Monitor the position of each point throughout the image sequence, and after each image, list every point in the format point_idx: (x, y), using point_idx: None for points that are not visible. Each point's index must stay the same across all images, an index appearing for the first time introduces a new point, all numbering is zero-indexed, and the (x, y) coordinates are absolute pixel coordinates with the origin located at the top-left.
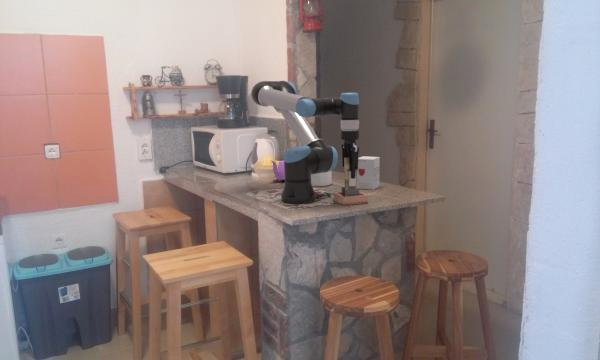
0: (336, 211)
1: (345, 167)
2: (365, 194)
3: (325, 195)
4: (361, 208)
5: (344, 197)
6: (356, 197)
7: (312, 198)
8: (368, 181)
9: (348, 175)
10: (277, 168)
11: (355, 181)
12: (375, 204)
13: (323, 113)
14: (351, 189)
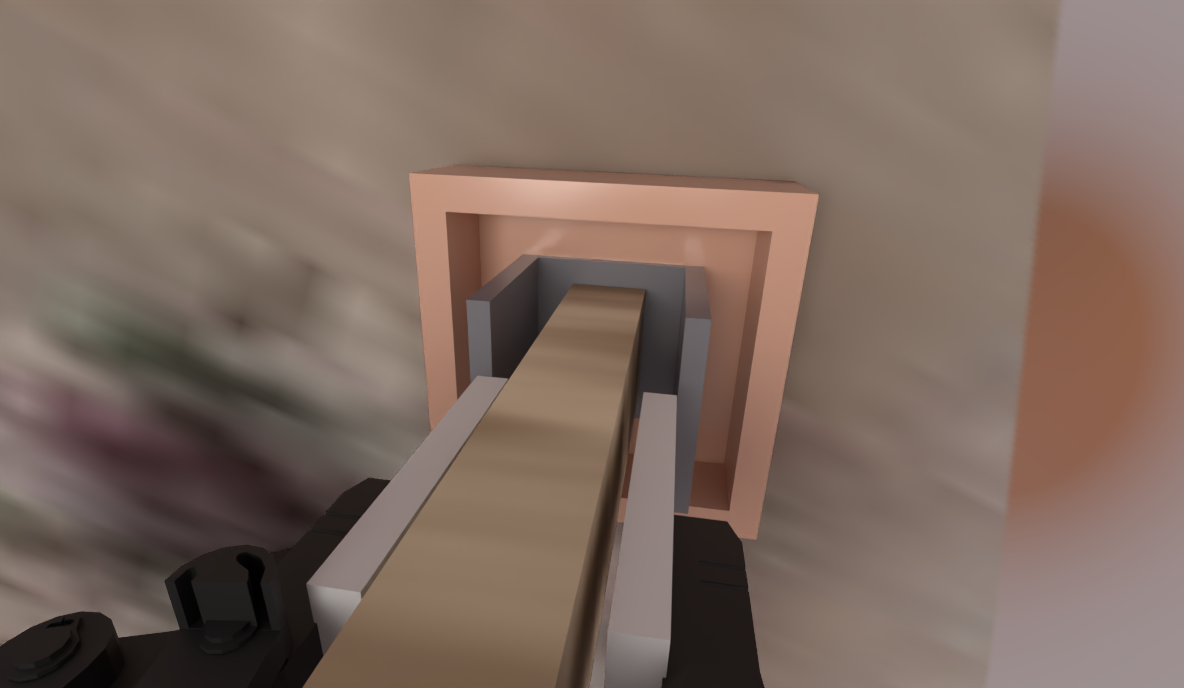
0: (926, 630)
1: None
2: (755, 200)
3: (223, 410)
4: (989, 383)
5: (757, 525)
6: (783, 368)
7: None
8: None
9: (594, 641)
10: None
11: (618, 399)
12: (921, 113)
13: None
14: (695, 447)
